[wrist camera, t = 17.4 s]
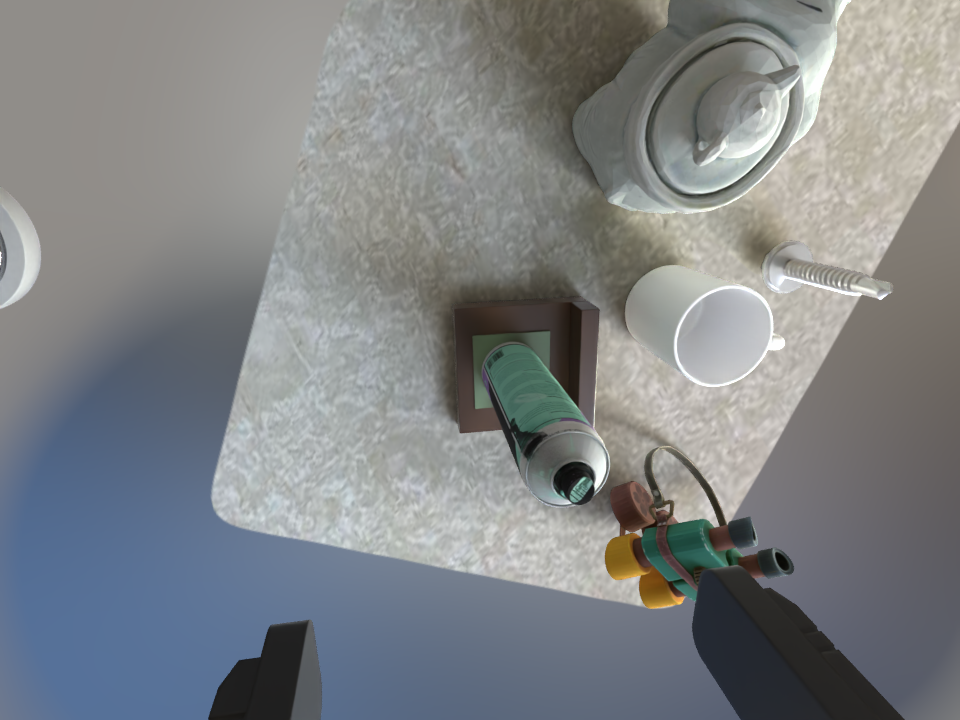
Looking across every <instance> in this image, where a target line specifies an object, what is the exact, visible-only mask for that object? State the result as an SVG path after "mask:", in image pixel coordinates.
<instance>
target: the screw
mask: <svg viewBox="0 0 960 720" xmlns="http://www.w3.org/2000/svg"><path fill="white" fill-rule="evenodd" d="M761 269H762V278H763V281H764V283H765V285H766V286H767V287H768V288H769V289H770V290H772V291H774V292H777V293H789V292H793V291H795V290H797V289H798V288H799V287H801V286H802V285H803V284H804V283H808V284H811V285H814V286H818V287H823V288H825V289H829V290H834V291H836V292H840V293H845V294H847V295H854V296H858V295H861V294H862V295H866V296H870V297H874V298H878V299H882V298H884V297H885V296H886V295H887V294H889V293H892V292H893V285H892V284H891V283H889V282H885V281H880V280H876V279H871V278H870V277H869V276H868V275H864V274H863V273H861V272H856V271H851V270H848V269H846V270H845V269H843V268H838V267H833V266H828V265H823V264H818V263H815V262H813V256H812V253H811V250H810V249H809V247H808V246H807V245H805V244H804V243H802V242H799V241H792V240H791V241H785V242H782V243H780V244H779V245H777V246H775V247H774V248H773V249H772V250H771V251H770V252H769V253H768V254H766V257H765V259H764V261H763V264H762V266H761Z"/></svg>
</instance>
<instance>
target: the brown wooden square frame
mask: <svg viewBox="0 0 960 720" xmlns="http://www.w3.org/2000/svg"><path fill="white" fill-rule="evenodd" d="M599 311H600V309H599V308H597V307H596V306H594V305H593V304H591V303H590V302H588V301H587V300H586V299H584V298H583V297H581V296H577V297H560V298H544V299H527V300H511V301H494V302H478V303H461V304H452V312H453V333H454V355H455V376H456V398H457V419H458V427H459V432H460V433H471V432H482V431H493V430H502V427H501V425H500V422H499V420H498V417H497V415H496V412H495V410H494V407H493V405H492V402H491V400H490V397H489V395H488V392H487V390H486V388H485V385H484V382H483V379H482V373H481V372H482V365H483V361H484V359H485V357H486V356H487V354H488V353H489V352H490V351H491V350H492V349H493V348H495V347H496V346H498V345H500V344H503V343H506V342H519V343H523V344H525V345H527V346H529V347H530V348H531V349H532V350H534V352H535V353H536V354H537V355H538V356H539V358H540V359H541V360H542V362H543V363H544V364H545V366H546V367H547V368H548V369H549V371H550V372H551V373H552V375H553V376H554V377H555V379H556V380H557V381H558V383H559V384H560V385H561V386H562V388H563V389H564V390H565V392H566V393H567V394H568V396H569V397H570V398H571V400H572V401H573V402H574V403H575V405H576V406H577V407H578V409H579V410H580V411H581V413H582V414H583V415H584V417H585V418H586V419H587V420H588V422H589V423H590V424H591V426H592V427H593V428H594V418H595V396H596V375H597V354H598V333H599Z"/></svg>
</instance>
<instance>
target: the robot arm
mask: <svg viewBox="0 0 960 720" xmlns="http://www.w3.org/2000/svg"><path fill="white" fill-rule="evenodd" d="M6 265H7V251H6V245H5V242H4V239H3V236H2V234H1V232H0V281H1V279H2V278H3V275H4V273H5V270H6ZM692 631H693V638H694V642H695V645H696V648H697V650H698V653H699V655H700V657H701V658H702V660H703V662H704V663H705V664H706V666H707V668H708V669H709V671H710V673H711V674H712V676H713V677H714V679H715V680H716V682H717V683H718V685H719V687H720V688H721V690H722V691H723V693H724V694H725V696H726V697H727V699H728V700H729V702H730V704H731V705H732V707H733V708H734V710H735V711H736V713H737V714H738V716H739V718H740V719H741V720H904V719H903V718H902V716H901V715H900V714H899V713H898V712H897V711H896V710H895V709H894V708H893V707H892V706H891V705H890V704H889V703H888V702H887V700H886V699H885V698H884V697H883V696H882V695H881V694H880V693H879V692H878V691H877V690H876V689H875V688H874V687H873V686H872V685H871V684H870V682H868V680H867V679H866V678H865V677H864V676H863V675H862V674H861V673H860V672H859V671H858V670H857V669H856V668H855V667H854V665H853V664H852V663H851V662H850V661H849V660H848V659H847V658H846V657H845V656H844V655H843V654H842V653H841V652H840V651H839V650H836V649H835V648H834V645H833V643H832V642H831V641H830V640H829V639H828V638H827V637H826V636H825V635H824V634H823V633H822V632H821V631H818V630H817V626H816V625H815V624H814V623H813V622H812V621H811V620H810V619H809V618H808V617H807V616H806V615H805V614H804V613H803V611H802V610H801V609H800V608H799V607H798V606H797V605H796V604H794V603H792V602H791V601H789V600H788V599H786V598H785V597H783V596H782V595H780V594H779V593H777V592H776V591H774V590H773V589H771V588H765V589H763V588H762V587H761V586H760V585H759V584H758V583H757V582H756V580H755V579H754V578H753V577H752V576H751V575H750V574H749V573H748V571H747V570H745V569H744V568H743V567H741V566H739V565H734V566H727V567H719V568H711V569H705V570H703V571H702V572H701V574H700V577H699V583H698V590H697V597H696V603H695V610H694V616H693V623H692ZM321 709H322V683H321V674H320V668H319V661H318V654H317V647H316V640H315V634H314V628H313V623H312V621H311V620H304V621H297V622H290V623H282V624H274V625H271V626H270V627H269V629H268V632H267V635H266V639H265V642H264V646H263V650H262V654H261V657H259V658H252V659H245V660H239V661H238V662H237V664H236V665H235V666H234V668H233V669H232V670H231V672H230V673H229V674H228V676H227V677H226V678H225V680H224V681H223V682H222V684H221V685H220V686H219V688H218V690H217V694H216V696H215V699H214V702H213V705H212V708H211V711H210V715H209V718H208V719H209V720H320V718H321Z"/></svg>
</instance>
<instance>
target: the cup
mask: <svg viewBox="0 0 960 720" xmlns="http://www.w3.org/2000/svg"><path fill="white" fill-rule="evenodd" d="M625 320H626V325H627V327H628V330H629V332H630V334H631V335H632V336H633V338H634V339H635V340H636V341H637V342H638V343H639V344H640V345H642V346H643V347H644V348H646V349H647V350H648V351H650V352H651V353H653V354H654V355H656V356H657V357H658V358H660V359H661V360H663V361H664V362H665V363H667V364H668V365H670V366H671V367H672V368H674V369H675V370H677V371H678V372H680V373H681V374H682V375H684V376H685V377H687V378H688V379H689V380H691V381H693V382H695V383H697V384H700V385H703V386H712V387H715V386H723V385H727V384H730V383H733V382H735V381H738V380H739V379H741V378H743V377H744V376H746V375H747V374H749V373H750V372H751V371H752V370H753V369H754V368H755V367H756V366H757V365H758V364H759V363H760V361H761V360H762V359H763V357H764V355H765V354H766V352H767V350H768V349H770V350H778V349H781V348H782V347H783V346H784V344H785V341H784V339H783V338H782V337H781V336H779V335H777V334H775V333H773V317H772V313H771V310H770V307H769V305H768V303H767V302H766V300H765V299H764V298H763V297H762V296H761V295H760V294H759V293H758V292H756V291H755V290H753V289H751V288H749V287H747V286H743V285H740V284H737V283H734V282H731V281H728V280H725V279H722V278H719V277H716V276H713V275H710V274H707V273H703V272H700V271H697V270H694V269H691V268H688V267H684V266H678V265H667V266H662V267H659V268H656V269H654V270H652V271H650V272H648V273H647V274H645V275H644V276H643V277H642V278H640V279H639V280H638V281H637V283H636V284H635V285H634V287H633V288H632V290H631V291H630V293H629V296H628V298H627V302H626V306H625Z"/></svg>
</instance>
